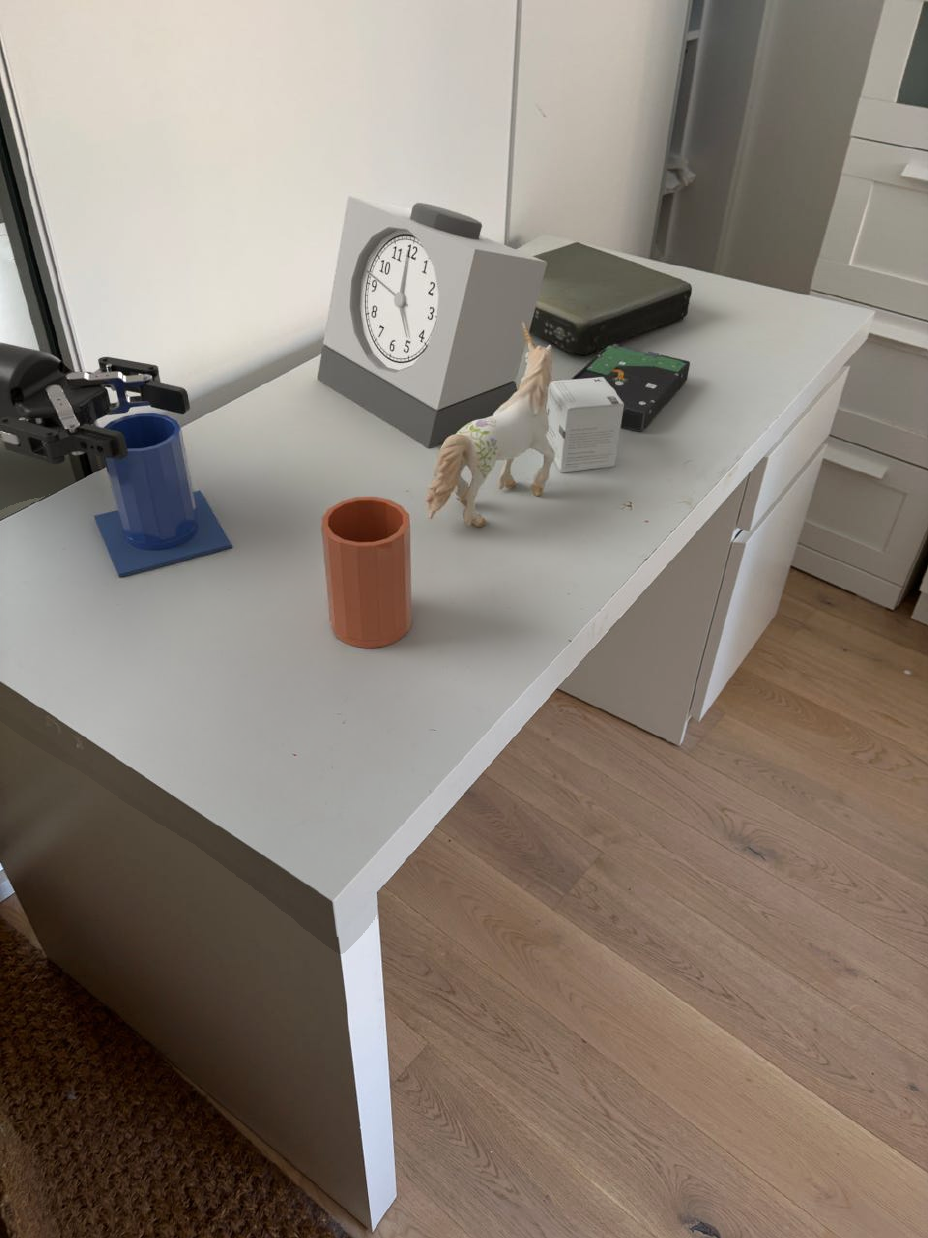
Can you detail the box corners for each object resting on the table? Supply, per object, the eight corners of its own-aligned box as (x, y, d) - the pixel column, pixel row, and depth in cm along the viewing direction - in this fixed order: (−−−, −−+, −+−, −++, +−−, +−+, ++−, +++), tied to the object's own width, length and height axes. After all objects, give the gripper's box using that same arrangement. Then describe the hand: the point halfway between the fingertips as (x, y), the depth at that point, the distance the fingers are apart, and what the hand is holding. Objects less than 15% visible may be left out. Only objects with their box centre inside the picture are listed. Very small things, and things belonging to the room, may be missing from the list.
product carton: (541, 444, 102) (547, 380, 97) (596, 438, 103) (603, 374, 98) (560, 474, 97) (566, 408, 93) (616, 467, 99) (626, 401, 94)
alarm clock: (317, 378, 113) (302, 196, 100) (422, 343, 121) (421, 170, 108) (428, 448, 101) (427, 252, 88) (536, 403, 109) (550, 218, 96)
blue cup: (133, 557, 84) (108, 458, 78) (116, 519, 89) (92, 422, 83) (207, 538, 87) (189, 440, 80) (187, 502, 91) (169, 406, 85)
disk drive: (643, 436, 104) (687, 381, 114) (647, 413, 102) (691, 359, 112) (555, 413, 108) (606, 361, 118) (557, 390, 106) (608, 339, 116)
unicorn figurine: (577, 461, 99) (591, 337, 91) (489, 558, 86) (496, 424, 78) (515, 443, 102) (522, 321, 93) (420, 534, 89) (419, 402, 80)
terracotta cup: (349, 658, 76) (341, 554, 69) (318, 610, 80) (308, 508, 74) (424, 633, 78) (424, 531, 72) (391, 588, 83) (387, 488, 76)
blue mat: (119, 577, 83) (118, 574, 83) (94, 518, 90) (93, 515, 89) (232, 547, 87) (231, 544, 86) (200, 493, 93) (200, 490, 93)
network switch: (699, 313, 130) (706, 276, 127) (600, 370, 116) (605, 330, 113) (559, 269, 141) (562, 234, 138) (453, 316, 127) (454, 278, 124)
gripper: (-76, 380, 77) (90, 420, 73) (46, 316, 87) (198, 347, 83) (-46, 462, 82) (111, 504, 77) (67, 392, 92) (211, 426, 88)
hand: (156, 423), depth 80 cm, fingers open, 8 cm apart
